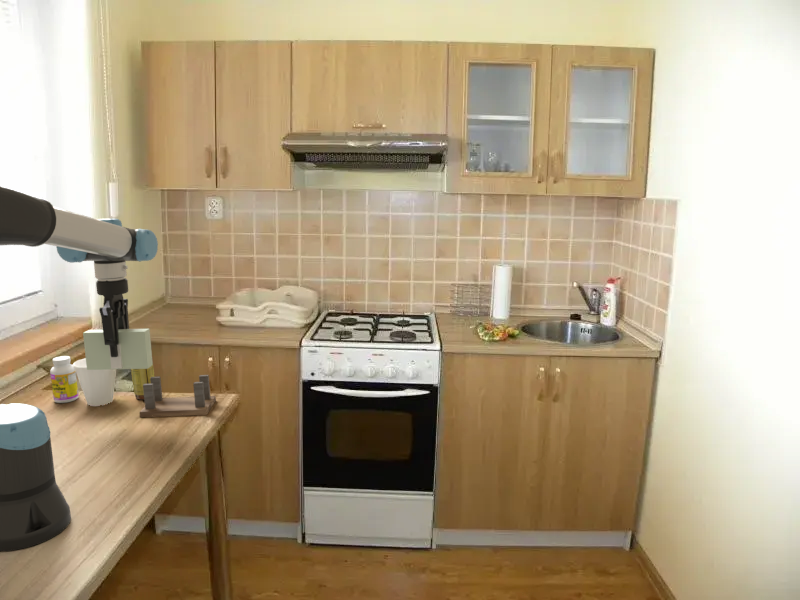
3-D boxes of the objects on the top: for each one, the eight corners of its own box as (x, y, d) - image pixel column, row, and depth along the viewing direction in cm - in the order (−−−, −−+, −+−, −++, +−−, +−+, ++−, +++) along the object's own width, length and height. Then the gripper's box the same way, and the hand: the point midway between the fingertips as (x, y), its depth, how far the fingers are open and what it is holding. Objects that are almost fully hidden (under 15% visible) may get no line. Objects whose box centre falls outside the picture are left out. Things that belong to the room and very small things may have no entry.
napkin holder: (206, 414, 179) (204, 385, 178) (140, 417, 179) (136, 387, 177) (215, 400, 190) (213, 372, 188) (153, 402, 189) (150, 374, 188)
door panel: (147, 368, 172) (144, 331, 170) (87, 369, 172) (82, 332, 170) (152, 364, 175) (149, 328, 174) (93, 366, 175) (89, 329, 174)
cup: (112, 392, 199) (107, 353, 197) (129, 401, 191) (124, 360, 189) (71, 402, 191) (66, 362, 189) (87, 412, 183) (82, 370, 180)
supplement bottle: (48, 402, 192) (43, 360, 189) (66, 395, 198) (61, 354, 195) (66, 404, 189) (61, 362, 187) (84, 397, 196) (79, 355, 193)
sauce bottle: (152, 391, 199) (146, 328, 195) (160, 397, 194) (153, 332, 190) (130, 396, 195) (123, 332, 191) (137, 402, 190) (130, 336, 186)
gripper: (114, 283, 161) (122, 374, 166) (137, 273, 178) (145, 357, 182) (83, 284, 161) (92, 375, 165) (109, 274, 177) (117, 358, 182)
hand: (120, 365), depth 174 cm, fingers closed on door panel, 4 cm apart
